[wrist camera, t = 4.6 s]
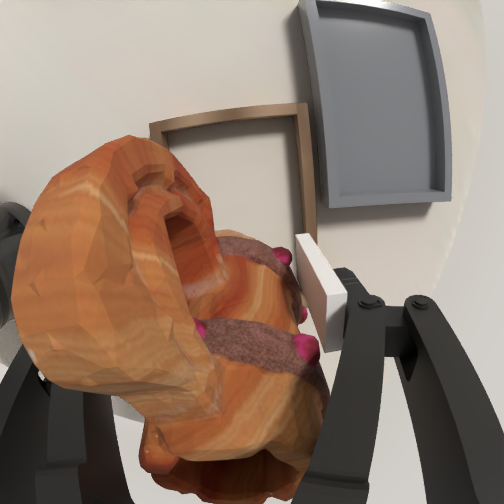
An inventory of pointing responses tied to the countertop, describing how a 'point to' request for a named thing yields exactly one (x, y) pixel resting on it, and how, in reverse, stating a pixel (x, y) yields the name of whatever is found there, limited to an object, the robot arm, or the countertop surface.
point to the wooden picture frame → (256, 112)
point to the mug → (172, 324)
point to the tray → (377, 103)
